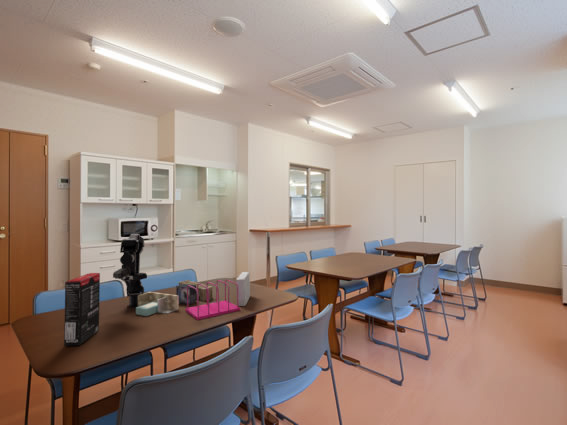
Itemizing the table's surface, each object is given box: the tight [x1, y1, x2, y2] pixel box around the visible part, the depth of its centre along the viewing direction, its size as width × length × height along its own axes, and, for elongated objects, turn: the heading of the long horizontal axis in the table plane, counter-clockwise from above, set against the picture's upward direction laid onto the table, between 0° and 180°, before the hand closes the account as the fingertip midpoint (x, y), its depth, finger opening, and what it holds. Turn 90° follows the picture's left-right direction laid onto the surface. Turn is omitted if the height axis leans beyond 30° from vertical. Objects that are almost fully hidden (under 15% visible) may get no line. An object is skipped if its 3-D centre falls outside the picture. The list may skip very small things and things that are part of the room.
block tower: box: [178, 279, 213, 302], centre depth 200 cm, size 8×8×29 cm
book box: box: [135, 302, 158, 317], centre depth 168 cm, size 8×12×4 cm, turn 155°
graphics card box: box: [63, 272, 101, 347], centre depth 134 cm, size 17×7×27 cm, turn 7°
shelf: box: [138, 291, 180, 311], centre depth 172 cm, size 22×8×8 cm, turn 68°
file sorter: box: [185, 279, 241, 321], centre depth 170 cm, size 17×25×16 cm
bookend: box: [157, 296, 177, 315], centre depth 169 cm, size 7×7×7 cm
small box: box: [175, 284, 197, 306], centre depth 185 cm, size 11×6×10 cm, turn 68°
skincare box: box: [235, 271, 251, 307], centre depth 188 cm, size 21×6×16 cm, turn 178°
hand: (130, 291), depth 162 cm, fingers closed
